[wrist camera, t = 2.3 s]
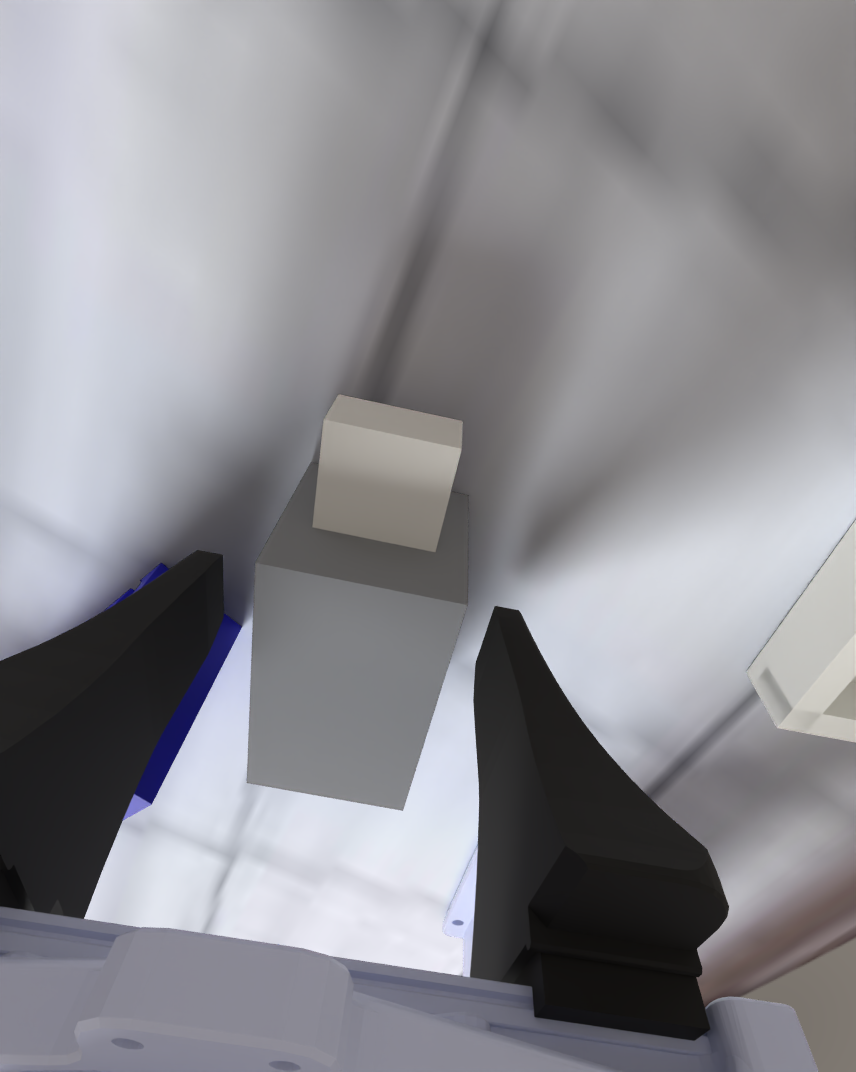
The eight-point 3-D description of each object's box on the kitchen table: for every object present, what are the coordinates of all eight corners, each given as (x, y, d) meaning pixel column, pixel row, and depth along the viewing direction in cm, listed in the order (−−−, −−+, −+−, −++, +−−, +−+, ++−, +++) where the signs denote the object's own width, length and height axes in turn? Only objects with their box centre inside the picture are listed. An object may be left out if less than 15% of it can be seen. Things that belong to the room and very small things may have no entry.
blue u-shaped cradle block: (81, 777, 22) (-31, 951, 17) (-24, 716, 21) (-183, 889, 16) (281, 649, 18) (205, 836, 13) (165, 557, 16) (26, 730, 11)
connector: (417, 679, 18) (402, 810, 14) (293, 656, 18) (246, 782, 14) (493, 403, 13) (502, 495, 9) (321, 365, 13) (259, 444, 9)
